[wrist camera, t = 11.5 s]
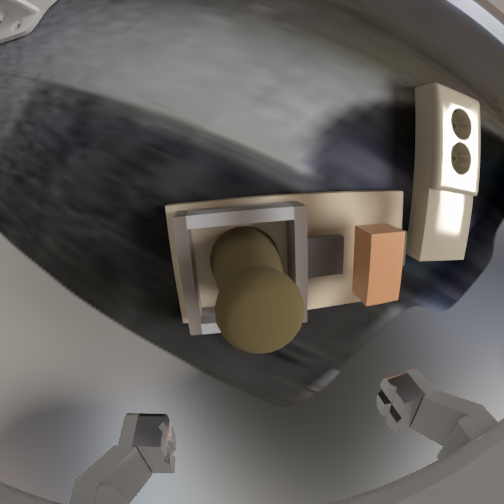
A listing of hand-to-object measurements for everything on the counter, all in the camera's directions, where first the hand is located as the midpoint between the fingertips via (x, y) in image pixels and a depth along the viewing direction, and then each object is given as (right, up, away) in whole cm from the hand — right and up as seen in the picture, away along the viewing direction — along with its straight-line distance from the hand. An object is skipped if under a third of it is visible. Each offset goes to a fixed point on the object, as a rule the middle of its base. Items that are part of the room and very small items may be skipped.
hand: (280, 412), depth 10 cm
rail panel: (+3, +6, +18) cm, 19 cm away
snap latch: (+9, +5, +15) cm, 19 cm away
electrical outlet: (+19, +15, +18) cm, 30 cm away
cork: (-2, +5, +17) cm, 17 cm away
